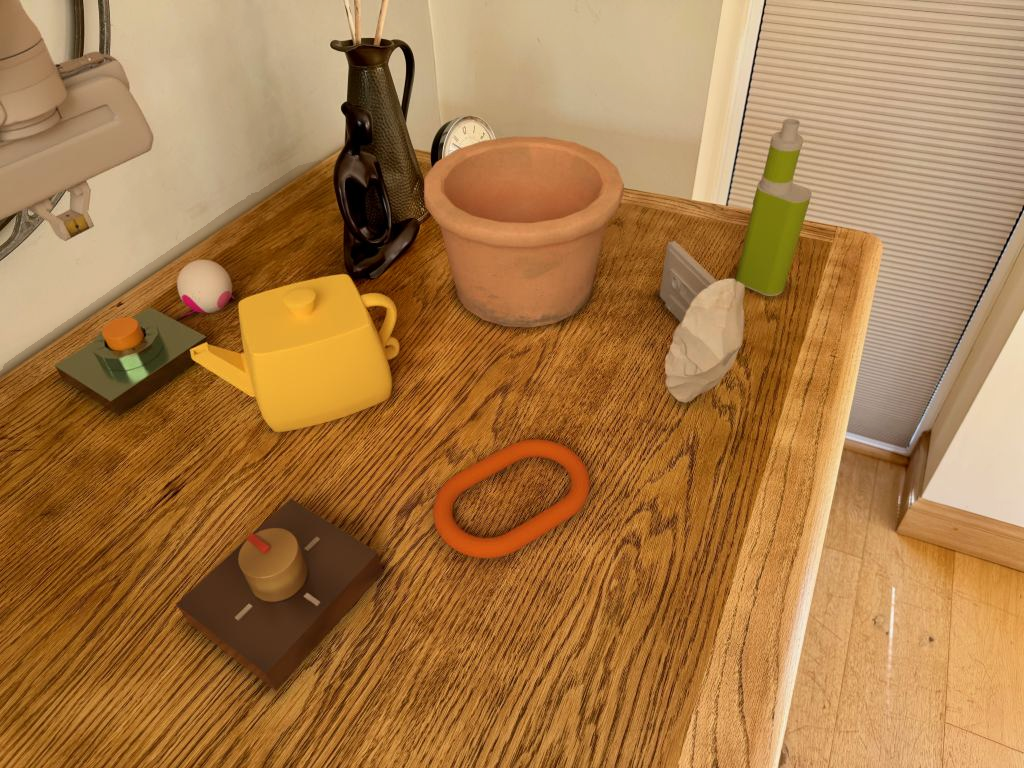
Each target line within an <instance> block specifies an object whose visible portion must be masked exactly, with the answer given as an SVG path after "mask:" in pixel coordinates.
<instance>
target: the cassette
mask: <svg viewBox="0 0 1024 768" xmlns="http://www.w3.org/2000/svg"><path fill="white" fill-rule="evenodd" d="M662 269H663V270H662V276H661V282H660V290H659V297H660V298H661V300H662V301H663V302H664V303H665V304H664V306H665V307H666V308H667V310H668V311H669V312H670V313H671V314H672V315H673V316H674V318H676V320H678V321H679V323H681V322H682V321H683V319H684V317H685V313H686V311H687V310H688V308H689V306H690V304H691V302H692V301H693V299H694V298H695V297H696V296H697V295H698V294H699V293H700V292H701V291H702V290H703V289H706V288H707V287H708V286H709V285H711V284H712V283H714V282H716V281H717V280H716V278H715V277H714V276H713V275H712V274H711V273H710V272H708V270H707V269H705V267H703V266H702V265H701V264H700V263H699V262H698V261H697V260H696V259H695V258H694V257H693V256H692V255H691V254H689V252H687V250H685V249H684V248H683V246H681V245H680V244H679V243H678V242H677V241H676V240H673V241H669V242H667V244H666V249H665V257H664V263H663V268H662Z"/></svg>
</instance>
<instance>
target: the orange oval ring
mask: <svg viewBox="0 0 1024 768" xmlns="http://www.w3.org/2000/svg"><path fill="white" fill-rule="evenodd" d="M531 458H543V459H548V460H551V461H553V462H555V463H557V464H559V465H560V466H562V467H563V468H564V469H565V471H566V472H567V474H568V475H569V479H570V488H569V490H568V493H567V494H566V495H565V496H564V497H563V498H562V499H561V500H559V501H557V502H556V503H554V504H553V505H552V506H550V507H548V508H546V509H544V510H543V511H541V512H540V513H537V514H535V516H533V517H531V518H529V519H528V520H527V521H525V522H523V523H522V524H520V525H517V526H516V527H514V528H513V529H511V530H509V531H508V532H505V533H504V534H501V535H498V536H494V537H479V536H476V535H472V534H470V533H468V532H466V531H465V530H464V529H462V528H461V527H460V526H459V525H458V523H456V521H455V519H454V515H453V514H454V513H453V509H454V505H455V502H456V501H457V499H458V498H459V496H460V495H461V494H463V493H464V492H465V491H467V490H469V489H470V488H472V487H474V486H475V485H477V484H479V483H480V482H482V481H484V480H486V479H488V478H490V477H491V476H493V475H495V474H497V473H500V471H502V470H504V469H506V468H508V467H510V466H511V465H513V464H515V463H517V462H519V461H522V460H524V459H531ZM589 475H590V474H589V471H588V468H587V467H586V465H585V463H584V462H583V460H582V458H581V457H580V456H579V455H578V454H576V453H575V452H574V451H573V450H571V449H570V448H568V447H567V446H565V445H563V444H561V443H559V442H556V441H554V440H553V441H552V440H547V439H541V438H540V439H539V438H537V439H536V438H532V439H531V438H530V439H525V440H520V441H517V442H514V443H511V444H509V445H508V446H506V447H503V448H502V449H500V450H498V451H496V452H494V453H492V454H491V455H489V456H486V457H484V458H483V459H481V460H479V461H478V462H476V463H473V464H472V465H470V466H468V467H467V468H465V469H463V470H461V471H460V472H458V473H456V474H454V475H453V476H451V477H450V478H449V479H448V480H447V481H446V482H445V483H443V485H442V486H441V488H440V489H439V491H438V493H437V494H436V496H435V499H434V503H433V508H432V518H433V523H434V527H435V529H436V531H437V534H439V536H440V538H441V539H442V541H444V543H445V544H447V545H448V546H449V548H452V550H454V551H456V552H458V553H460V554H462V555H465V556H469V557H471V558H477V559H497V558H501V557H505V556H508V555H510V554H513V553H515V552H517V551H519V550H520V549H522V548H524V547H526V546H527V545H529V544H531V543H533V541H535V540H537V539H539V538H540V537H542V536H543V535H545V534H547V533H548V532H550V531H552V530H553V529H555V528H557V527H559V526H560V525H561V524H563V523H565V522H566V521H567V520H569V519H570V518H572V517H573V516H575V515H576V514H577V513H578V512H579V511H580V510H581V509H582V508H583V506H584V505H585V503H586V501H587V499H588V496H589V494H590V488H591V480H590V476H589Z"/></svg>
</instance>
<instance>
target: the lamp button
mask: <svg viewBox="0 0 1024 768" xmlns="http://www.w3.org/2000/svg"><path fill="white" fill-rule="evenodd" d="M101 331H102V335H103V337H104V339H105V340H106V342H107V344H108V346H109V348H111V349H112V350H115V351H123V350H126V349H129V348H133V347H134V346H136V345H137V344H139V343H141V341H142V340H143V338H144V334H143V332H142V330H141V327H140V325H139V323H138V321H137V320H136V319H134V318H133V317H129V316H128V317H127V316H123V317H120V318H116V319H113V320H111V321H109V322H108V323H106V324H105V325H104V327H103V328H102V330H101Z"/></svg>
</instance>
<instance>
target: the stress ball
mask: <svg viewBox="0 0 1024 768" xmlns="http://www.w3.org/2000/svg"><path fill="white" fill-rule="evenodd" d="M179 270H180V272H179V274H178V277H177V281H176V288H177V293H178V296H179V298H180V299H181V301H182V302H183V303H184V304H185V305H186V306H187V307H188V308H189V309H191V310H192V311H190V312H188V313H186V314H183V315H182V316H179V317H178V318H182V317H185V316H187V315H190V314H192V313H199V314H200V313H201V314H212V313H216V312H219V311H221V310H222V309H223V308H225V306H227V304H228V303H229V301H230V299H232V300H236V298H235V296H233V295H232V294H233V282H232V280H231V277H230V274H229V273H228V272H227V270H226V269H225V268H224V267H223V266H222V265H220V264H219V263H217V262H215V261H213V260H210V259H196V260H193V261H191V262H189V263H188V264H186V265H184V266H183V268H182V269H181V268H179Z"/></svg>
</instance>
